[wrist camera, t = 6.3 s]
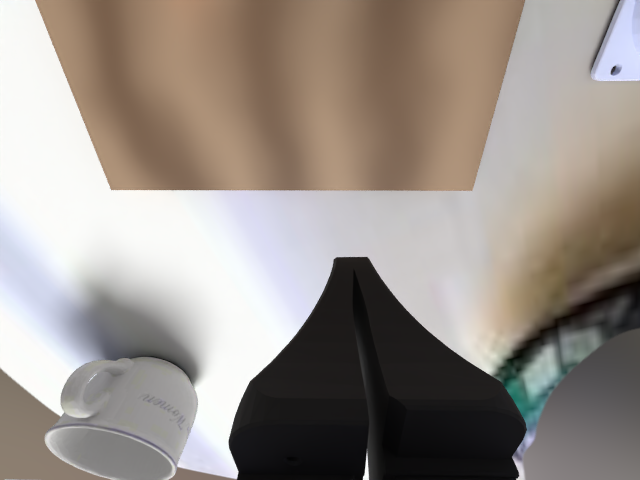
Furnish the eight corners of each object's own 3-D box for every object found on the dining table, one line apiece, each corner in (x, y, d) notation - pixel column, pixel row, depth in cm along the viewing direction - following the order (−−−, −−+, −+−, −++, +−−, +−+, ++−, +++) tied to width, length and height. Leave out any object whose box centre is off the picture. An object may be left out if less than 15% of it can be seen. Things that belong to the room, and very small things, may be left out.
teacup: (211, 407, 35) (183, 492, 28) (116, 399, 35) (65, 484, 28) (199, 324, 28) (156, 412, 21) (78, 313, 27) (-5, 399, 20)
